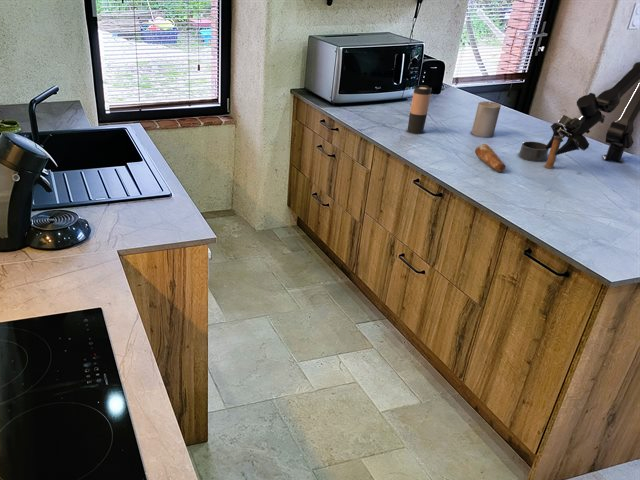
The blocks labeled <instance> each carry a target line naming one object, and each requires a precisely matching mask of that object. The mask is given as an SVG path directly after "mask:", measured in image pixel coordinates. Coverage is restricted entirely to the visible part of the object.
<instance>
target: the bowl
mask: <svg viewBox="0 0 640 480" xmlns="http://www.w3.org/2000/svg"><path fill="white" fill-rule="evenodd" d="M546 146H547V144H546V143H543V142H539V141H524V142H522V143H521V146H520V150H519V153H518V157H519V158H520V159H523V160H526V161H530V162H544V161H547V158H548V155H549V154H548V153H549V151H550V148H549V149H546V148H545V147H546Z"/></svg>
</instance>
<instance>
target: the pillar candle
mask: <svg viewBox="0 0 640 480" xmlns="http://www.w3.org/2000/svg"><path fill="white" fill-rule="evenodd" d="M501 106H502V104H500V103H498V102H494V101H486V100H485V101H479V102H478V104H477V107H476V112H475V116H474V119H473V120H474V121H473V125H472V129H471V134H472V135H473V136H475V137H480V138H481V137H482V138H491V137H494V135H495V132H496V127H497V123H498V118H499V114H500V111H501Z"/></svg>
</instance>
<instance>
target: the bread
mask: <svg viewBox="0 0 640 480" xmlns="http://www.w3.org/2000/svg"><path fill="white" fill-rule="evenodd" d="M474 153H475V155H476V157H478V159H479V160H480V161H482V162H483V163H485V164H486V165H487V166H489V168H491V169H493V170H495V172H498V173H501V172H504V171H506V165H505V163H504V162H503V161H502V159H501V158H500V156H498V154H497V153H496V152H495V151H494V150H493V148H492V147H491V146H490V145H488V144H486V143H483V144H482V145H479V146H477V147H476V148H475V150H474Z"/></svg>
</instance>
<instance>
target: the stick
mask: <svg viewBox="0 0 640 480" xmlns="http://www.w3.org/2000/svg"><path fill="white" fill-rule="evenodd" d="M562 139H563V138H562V137H561V136H555V137H554V140H553V143H552V147H551V148H550V149H549V152H548V153H549V154H548V155H547V158H546V163H545V168H546V169H554V167H555V166H554V165H555V162H556V159H557V156H558V155H556V154H555V153H556V152H557V151H558V150H559V149H560V148H561V144H562V142H561V140H562Z"/></svg>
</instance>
